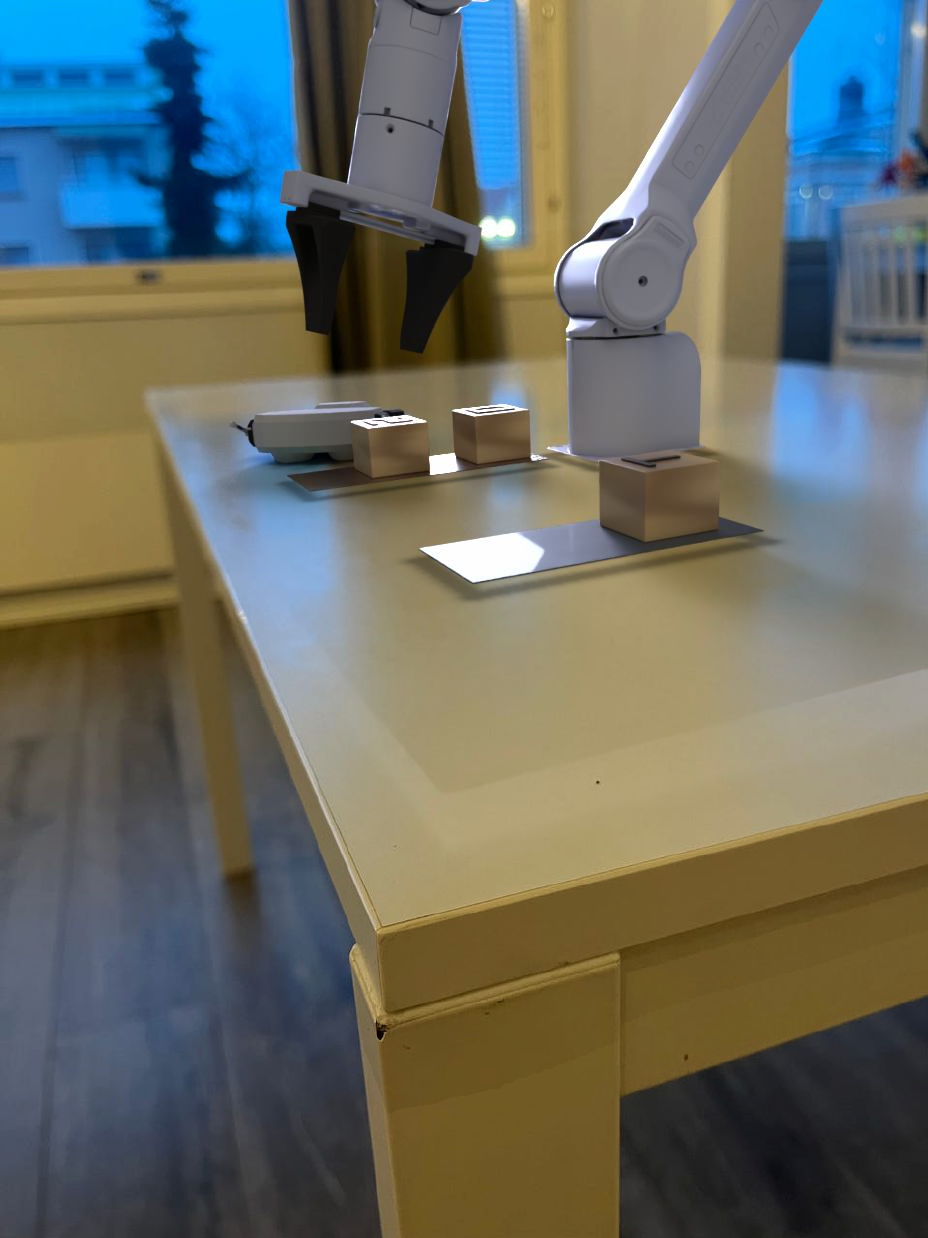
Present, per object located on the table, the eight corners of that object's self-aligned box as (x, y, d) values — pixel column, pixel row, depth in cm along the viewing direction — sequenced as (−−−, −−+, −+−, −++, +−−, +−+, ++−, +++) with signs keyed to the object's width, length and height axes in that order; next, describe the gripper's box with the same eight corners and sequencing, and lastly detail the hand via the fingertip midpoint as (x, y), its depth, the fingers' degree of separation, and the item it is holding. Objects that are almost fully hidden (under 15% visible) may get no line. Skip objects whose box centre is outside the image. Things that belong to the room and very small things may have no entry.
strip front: (682, 515, 54) (682, 504, 54) (764, 541, 48) (764, 529, 48) (418, 559, 49) (417, 548, 48) (473, 596, 42) (472, 583, 42)
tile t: (669, 513, 52) (669, 447, 51) (719, 530, 48) (721, 458, 47) (598, 525, 51) (598, 457, 49) (645, 543, 47) (645, 470, 46)
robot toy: (291, 453, 88) (230, 473, 73) (287, 403, 86) (224, 413, 72) (423, 449, 86) (386, 468, 71) (420, 397, 85) (382, 406, 70)
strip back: (508, 453, 76) (508, 446, 76) (549, 466, 70) (549, 458, 70) (287, 482, 70) (286, 474, 70) (311, 499, 64) (309, 491, 64)
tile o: (506, 449, 75) (504, 402, 74) (531, 457, 71) (529, 408, 70) (454, 456, 73) (451, 408, 72) (477, 464, 69) (474, 414, 68)
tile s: (410, 462, 72) (406, 413, 71) (431, 470, 68) (427, 419, 67) (354, 469, 70) (349, 419, 69) (372, 478, 67) (367, 426, 65)
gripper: (453, 162, 69) (419, 352, 73) (272, 96, 60) (243, 317, 64) (514, 159, 64) (474, 364, 68) (326, 87, 55) (291, 328, 59)
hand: (365, 342), depth 66 cm, fingers open, 7 cm apart
